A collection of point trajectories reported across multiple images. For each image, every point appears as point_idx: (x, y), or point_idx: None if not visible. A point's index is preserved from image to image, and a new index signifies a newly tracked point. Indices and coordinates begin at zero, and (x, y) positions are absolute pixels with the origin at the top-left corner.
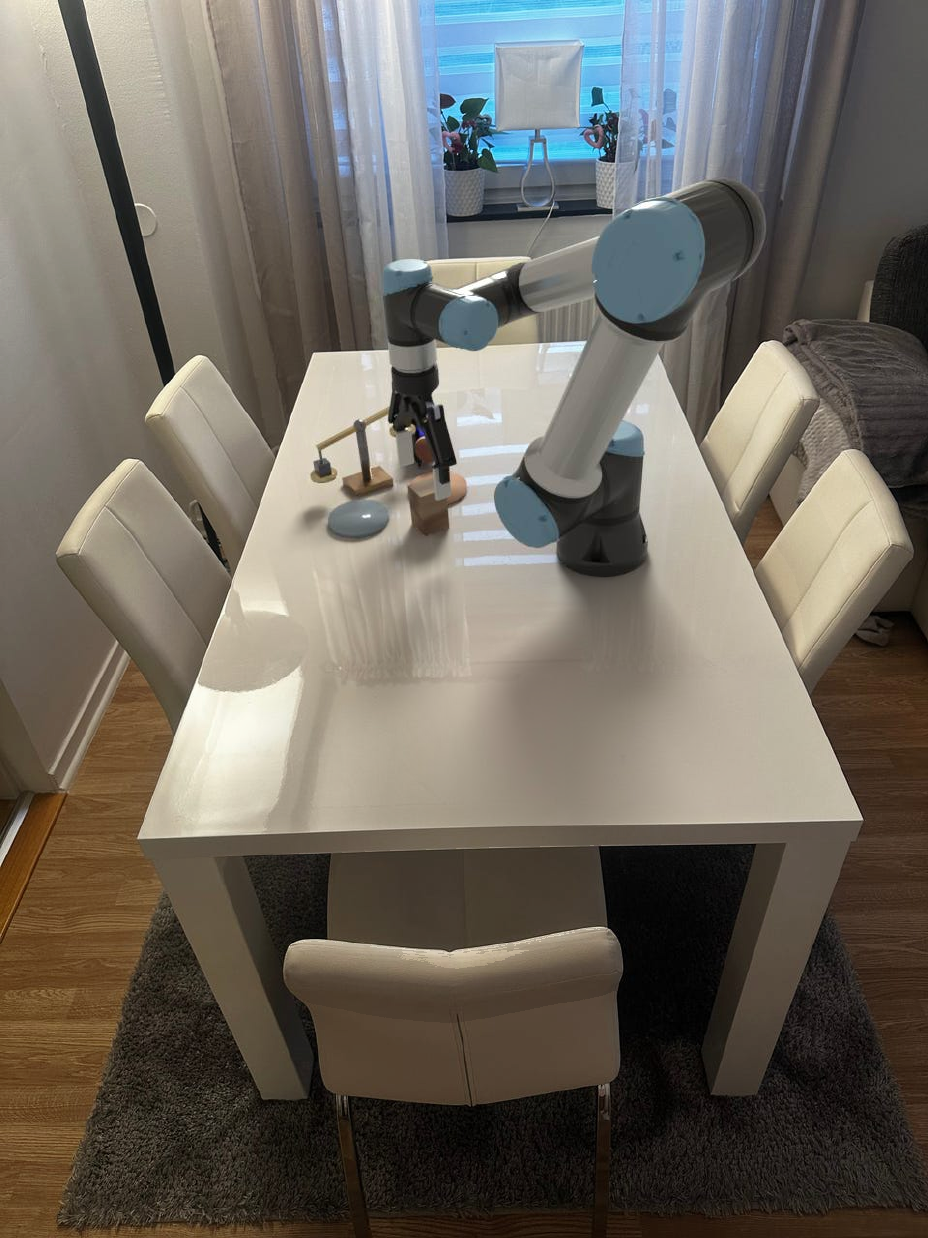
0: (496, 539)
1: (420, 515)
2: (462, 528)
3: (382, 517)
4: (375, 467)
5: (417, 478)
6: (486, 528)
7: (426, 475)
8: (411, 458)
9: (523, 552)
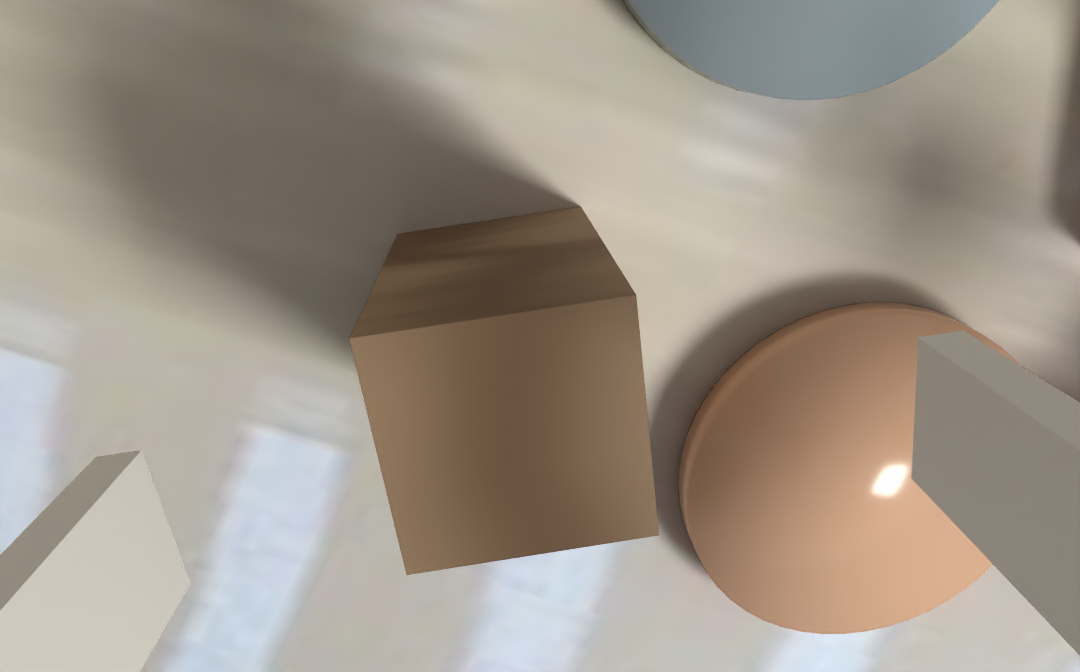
0: (203, 577)
1: (417, 267)
2: None
3: (701, 22)
4: None
5: None
6: (333, 567)
7: None
8: (944, 489)
9: None
